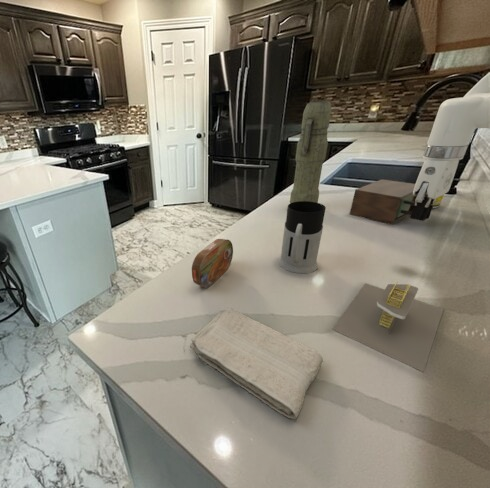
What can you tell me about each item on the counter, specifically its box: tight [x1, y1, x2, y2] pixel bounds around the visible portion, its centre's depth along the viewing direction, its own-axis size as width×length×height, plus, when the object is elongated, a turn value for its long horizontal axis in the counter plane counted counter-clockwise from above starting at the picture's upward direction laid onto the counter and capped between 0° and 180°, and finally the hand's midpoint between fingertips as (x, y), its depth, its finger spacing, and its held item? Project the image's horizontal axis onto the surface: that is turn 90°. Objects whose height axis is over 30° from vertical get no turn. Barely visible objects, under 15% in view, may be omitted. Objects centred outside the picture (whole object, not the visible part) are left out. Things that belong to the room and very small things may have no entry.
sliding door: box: [396, 195, 415, 218], centre depth 77 cm, size 6×7×6 cm
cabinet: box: [349, 179, 417, 226], centre depth 84 cm, size 12×16×8 cm
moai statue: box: [289, 99, 332, 204], centre depth 87 cm, size 9×12×35 cm
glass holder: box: [277, 201, 326, 274], centre depth 59 cm, size 9×14×15 cm, turn 147°
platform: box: [332, 280, 444, 373], centre depth 45 cm, size 12×18×7 cm, turn 131°
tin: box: [191, 238, 234, 289], centre depth 62 cm, size 15×3×8 cm, turn 139°
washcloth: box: [189, 307, 324, 420], centre depth 42 cm, size 12×18×3 cm, turn 46°
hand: (419, 218), depth 75 cm, fingers closed
